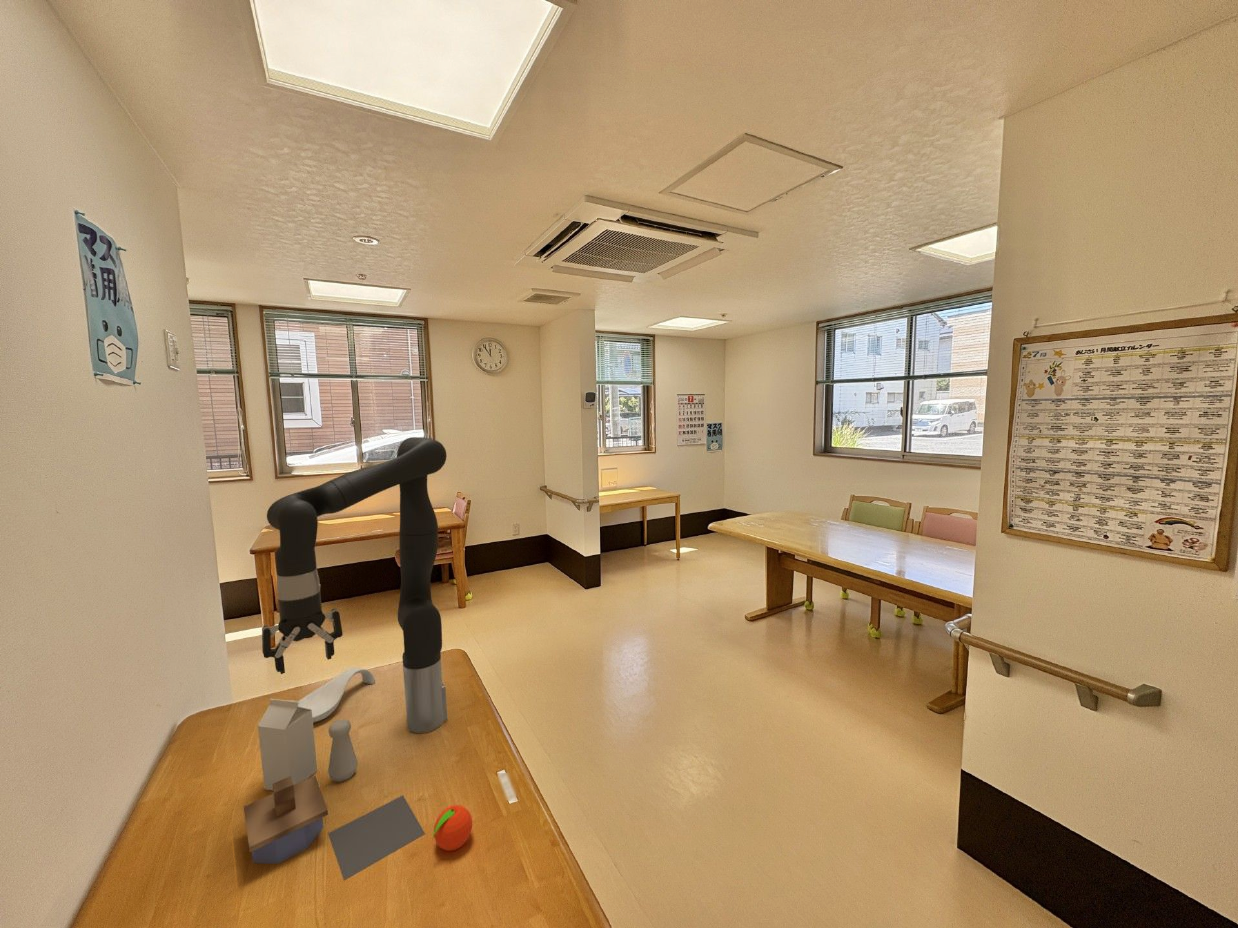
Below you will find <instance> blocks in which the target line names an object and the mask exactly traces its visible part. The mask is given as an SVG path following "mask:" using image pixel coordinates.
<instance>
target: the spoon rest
mask: <svg viewBox="0 0 1238 928" xmlns="http://www.w3.org/2000/svg"><path fill="white" fill-rule="evenodd" d="M357 674H361V679H362V682H363V683H365V684H370V685H375V683H376V677H375V676H374V674H373V673H372V672H371V671H370V670H369V669H366V668H361V667H351V668H348V669H346V670H344V671H343V672H341V673H339V674H337V676H335V677H334V678H332V679H331V680H329V681H328V682H326V683H324V684H323V685H321V686H320V687H318V688H317V689H315V690H313V691H311V692H310V693H309V694H307V695H305V696H303V697H302V698H301V699H299V700H298V701H299V704H298V707H302V708H306V709H310V710H312V718H313V723H317V722H320V721H323V720H324V719H326V718H328V717H329V716H330V715H331V714H333V713H334V711H335V710H336V709H337V707H338V706H339V704H340V702H341V699H342V698H343V696H344V693H345V690H346V688H347V686H348V684H349V682H350V681H351V679H352V677H354V676H355V675H357Z"/></svg>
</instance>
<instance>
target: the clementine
mask: <svg viewBox="0 0 1238 928" xmlns="http://www.w3.org/2000/svg"><path fill="white" fill-rule="evenodd" d="M472 829H473V817H472V815H471V813H470V811H469V809H467V808H466V806H465V807H464V806H463V805H461V804H455V805H450V806H448V807H446V808H444V809H443V810H442V811H441V813H440V814H439V815H438V817H437V819H436V821H435V823H434V827H433V836H432V841H435V843H436V844H437V846H438V848H440V849H443V850H444V851H448V852H450V851H452V852H453V851H455V850H458V849H460V848H461V847H463V846H464V845H465V843H466V842H467V841H468V840H469V838H470V835H471V833H472Z"/></svg>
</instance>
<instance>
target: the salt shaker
mask: <svg viewBox="0 0 1238 928" xmlns="http://www.w3.org/2000/svg"><path fill="white" fill-rule="evenodd" d="M351 730H352V724H351V722H350V720H348V719H346V718H342V719H338V720H336V721H333V723H331V724H330V726H329V727H328V735H329V737H330V738H332V741H331V748H330V755H329V760H328V761H329V762H328V770H327V773H328V776H329V778H330V780H331V781H332V782H333V783H337V782H338V783H341V782H344V781H347V780H348V779H351V778H352V777H353V775H354V774H355V773H356V770H357V767H358V760H357V759H358V758H357V756H356V752H355V749H354V746H353V742H352V738H351V736H350V732H351Z"/></svg>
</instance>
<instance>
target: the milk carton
mask: <svg viewBox="0 0 1238 928" xmlns="http://www.w3.org/2000/svg"><path fill="white" fill-rule="evenodd" d="M298 704H299V700H293V699H290V700H286V699H284V700H283V699H277V698H270V699H269V705H268V707H267V709H266V710H265V713H264V714H263V716H262V717H261V719H260V721H259V723H258V725H257V732H258V740H259V750H260V759H261V768H262V770H261V771H262V777H263V787H264V790H267V791H271V792H273V786H272V784H273V783H275V782H278V781H280V780H283V779H285V778H287V777H290V776H291V778H292V781H293V785H295V784H297V783H299V782H302V781H304V780H306V779H309V778H311V777H312V775H314V774H315V773H316V772H317V771H318V761H317V752H316V743H315V733H314V730H315V729H314V722H313V718H312V710H310V709H306V708H302V707H298Z"/></svg>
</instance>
